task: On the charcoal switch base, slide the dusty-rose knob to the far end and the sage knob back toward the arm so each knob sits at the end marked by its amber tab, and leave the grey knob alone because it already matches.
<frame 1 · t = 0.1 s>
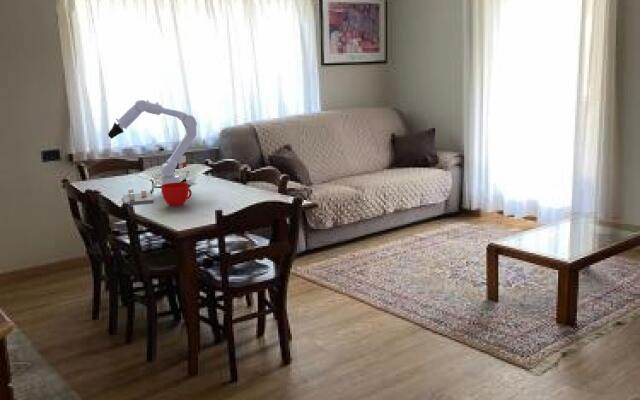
hand: (109, 136, 309), 32 cm above the table, tool tilted 50°, fingers open, 7 cm apart
rose knob: (143, 193, 309), point 3 cm above the table, slide at 0.0 cm
grey knob: (130, 191, 312), point 3 cm above the table, slide at 6.0 cm
red and white box: (181, 181, 357), on the table
switch base: (138, 200, 309), on the table
ceramic cup: (179, 205, 295), on the table
sage knob: (132, 196, 301), point 3 cm above the table, slide at 6.0 cm
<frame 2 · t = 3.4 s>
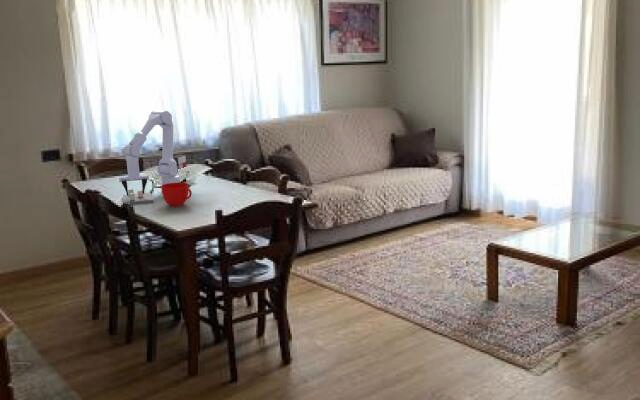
hand: (135, 194, 308), 3 cm above the table, tool pointing down, fingers open, 7 cm apart
rose knob: (140, 193, 308), point 3 cm above the table, slide at 1.7 cm, touching gripper
everything else where it was.
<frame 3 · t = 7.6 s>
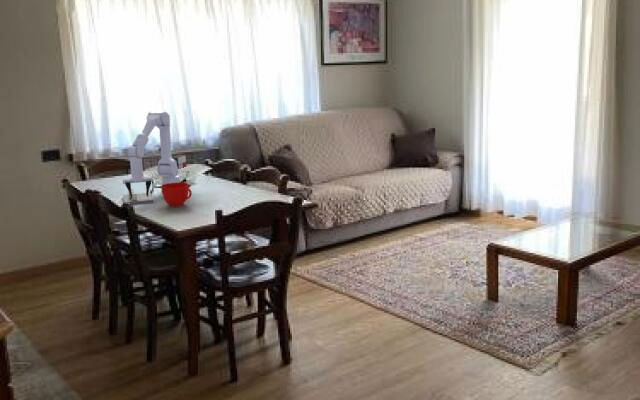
hand: (139, 196, 303), 3 cm above the table, tool pointing down, fingers open, 7 cm apart
rose knob: (131, 194, 307), point 3 cm above the table, slide at 6.1 cm
sage knob: (134, 196, 302), point 3 cm above the table, slide at 4.9 cm, touching gripper
everything else where it was.
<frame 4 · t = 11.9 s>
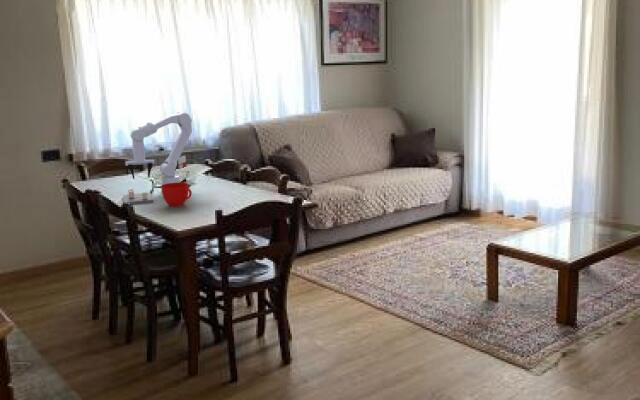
hand: (141, 178, 317), 9 cm above the table, tool pointing down, fingers open, 7 cm apart
sage knob: (144, 195, 303), point 3 cm above the table, slide at -0.1 cm
everything else where it was.
at the end: rose knob slide at 6.1 cm; sage knob slide at -0.1 cm; grey knob slide at 6.0 cm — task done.
